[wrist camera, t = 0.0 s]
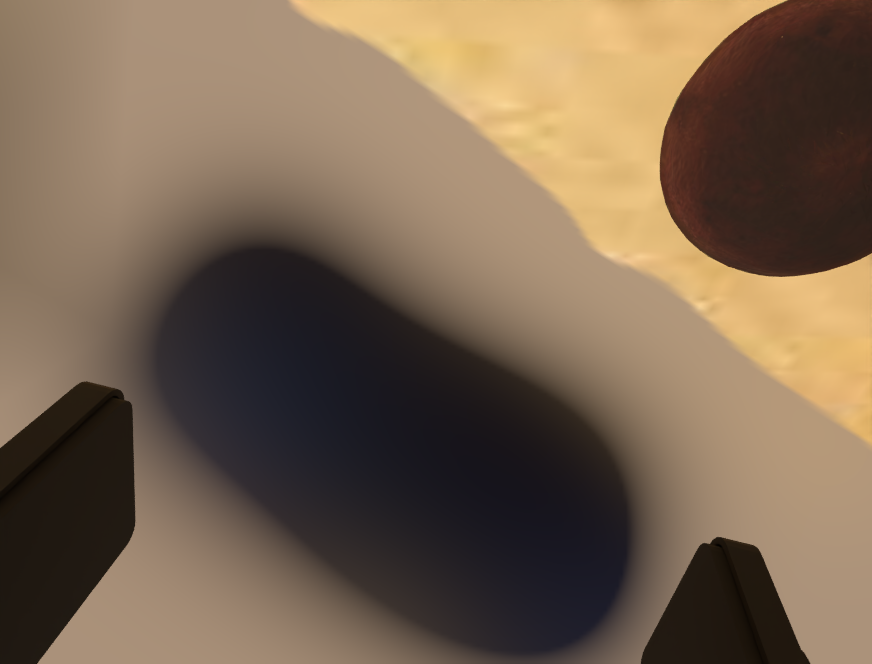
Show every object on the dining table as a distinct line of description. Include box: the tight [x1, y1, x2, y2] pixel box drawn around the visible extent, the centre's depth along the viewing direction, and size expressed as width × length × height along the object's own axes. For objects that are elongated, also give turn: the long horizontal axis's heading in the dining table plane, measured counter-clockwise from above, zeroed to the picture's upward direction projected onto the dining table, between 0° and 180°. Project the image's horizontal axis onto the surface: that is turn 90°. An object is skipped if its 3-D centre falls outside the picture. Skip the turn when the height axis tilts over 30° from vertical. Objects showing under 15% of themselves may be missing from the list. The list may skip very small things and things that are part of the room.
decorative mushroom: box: [660, 0, 872, 277], centre depth 29 cm, size 11×11×15 cm
